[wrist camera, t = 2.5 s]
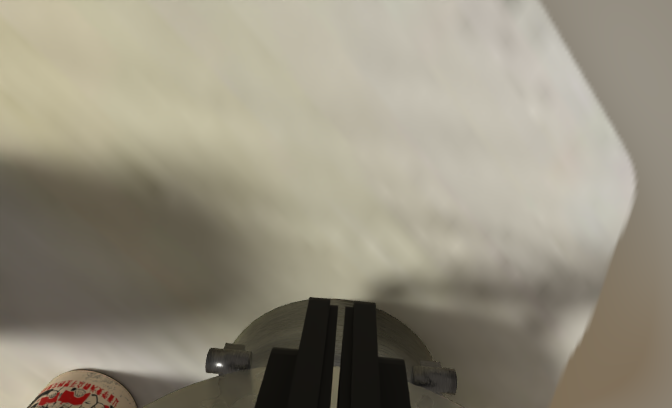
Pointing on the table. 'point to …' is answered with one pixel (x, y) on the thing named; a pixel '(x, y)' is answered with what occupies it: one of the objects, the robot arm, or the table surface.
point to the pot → (287, 329)
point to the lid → (243, 387)
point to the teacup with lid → (83, 392)
